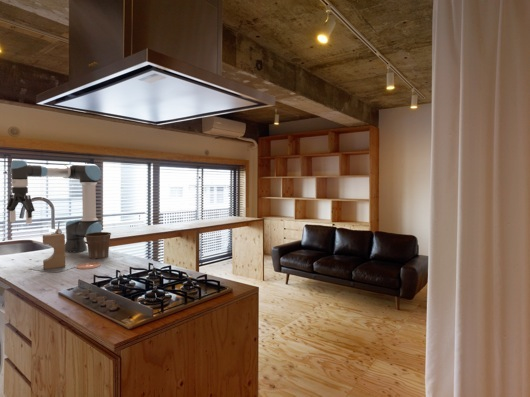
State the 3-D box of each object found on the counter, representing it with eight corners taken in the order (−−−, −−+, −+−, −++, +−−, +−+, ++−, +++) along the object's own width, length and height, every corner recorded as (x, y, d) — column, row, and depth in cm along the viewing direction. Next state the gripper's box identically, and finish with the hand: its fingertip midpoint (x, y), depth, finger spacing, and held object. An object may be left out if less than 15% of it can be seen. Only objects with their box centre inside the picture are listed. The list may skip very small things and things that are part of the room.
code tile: (53, 262, 211) (53, 262, 211) (79, 266, 204) (79, 265, 204) (28, 269, 196) (28, 268, 196) (56, 273, 189) (56, 272, 189)
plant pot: (97, 260, 218) (97, 236, 217) (79, 258, 224) (79, 234, 223) (116, 255, 234) (116, 233, 233) (99, 253, 239) (99, 231, 238)
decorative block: (43, 269, 195) (42, 236, 193) (43, 267, 199) (42, 234, 198) (65, 267, 201) (64, 234, 200) (64, 264, 206) (64, 233, 205)
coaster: (88, 262, 213) (88, 261, 213) (104, 264, 209) (104, 263, 209) (71, 267, 201) (71, 266, 201) (88, 270, 197) (88, 269, 197)
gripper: (-2, 186, 194) (-1, 222, 195) (28, 187, 185) (29, 224, 187) (12, 186, 201) (13, 220, 202) (41, 187, 192) (42, 223, 194)
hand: (20, 222), depth 194 cm, fingers open, 13 cm apart
